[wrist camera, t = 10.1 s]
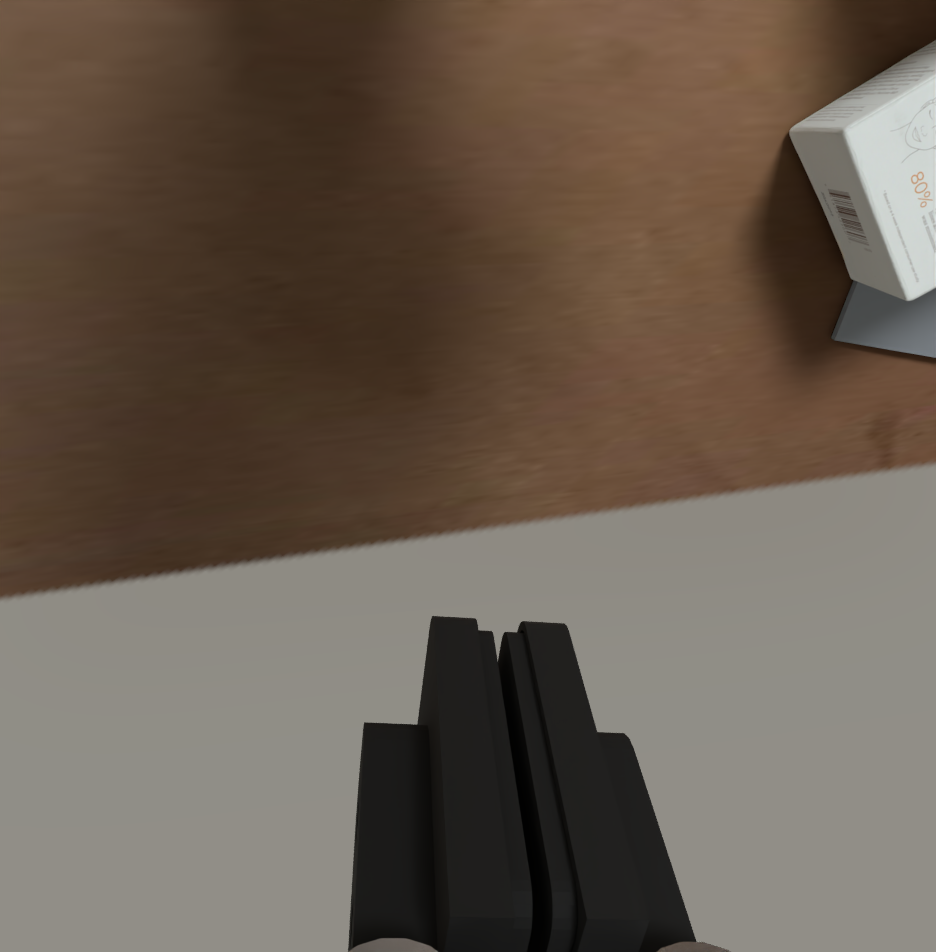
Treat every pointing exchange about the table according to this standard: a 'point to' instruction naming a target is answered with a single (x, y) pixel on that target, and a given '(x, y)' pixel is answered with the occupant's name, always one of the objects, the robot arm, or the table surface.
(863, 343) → the felt mat
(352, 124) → the table surface
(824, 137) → the small box
